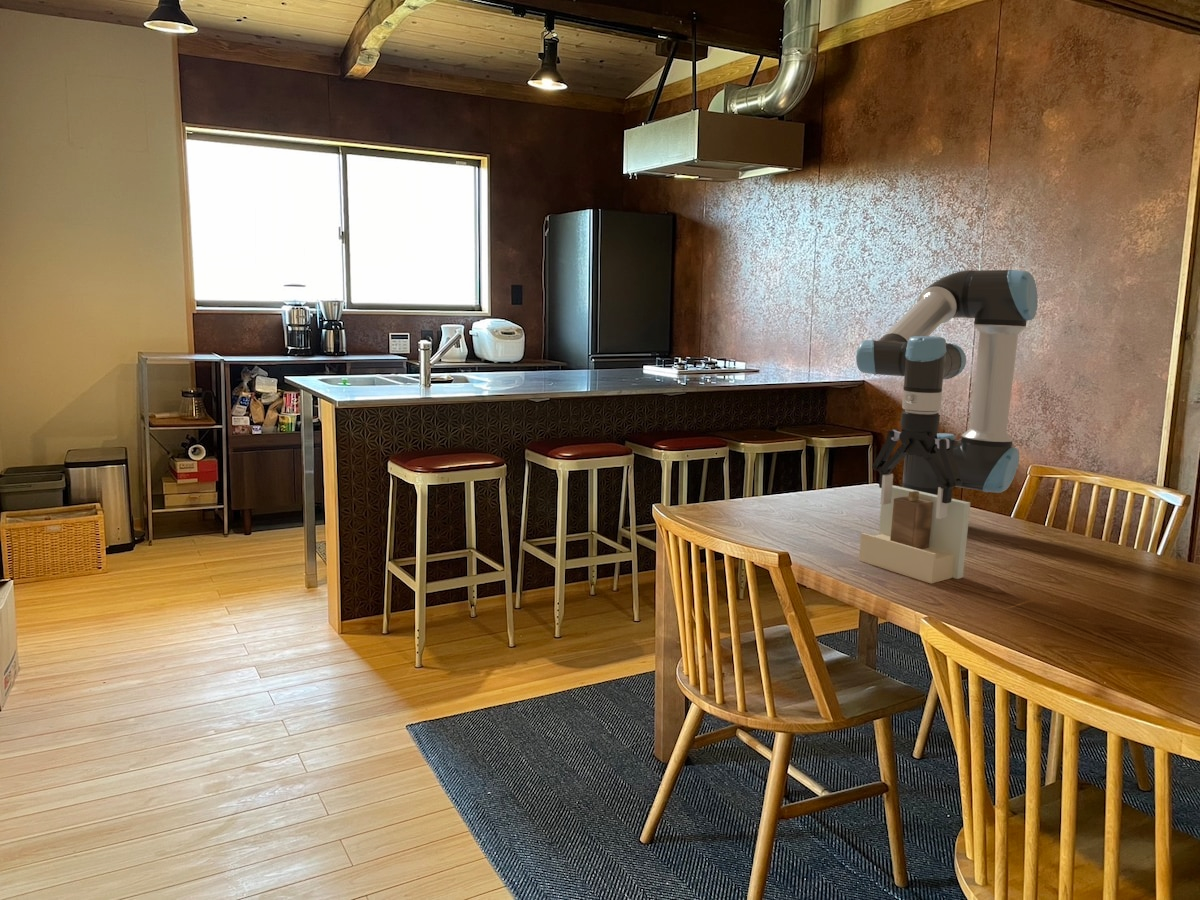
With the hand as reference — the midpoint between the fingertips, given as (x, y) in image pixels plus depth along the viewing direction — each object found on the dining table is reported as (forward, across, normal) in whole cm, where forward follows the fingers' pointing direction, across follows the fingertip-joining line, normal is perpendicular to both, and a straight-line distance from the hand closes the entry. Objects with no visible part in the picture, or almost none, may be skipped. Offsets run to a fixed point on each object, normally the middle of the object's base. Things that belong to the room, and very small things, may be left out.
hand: (912, 510), depth 183 cm
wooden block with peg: (+8, 0, 0) cm, 8 cm away
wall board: (+13, 0, 0) cm, 13 cm away
